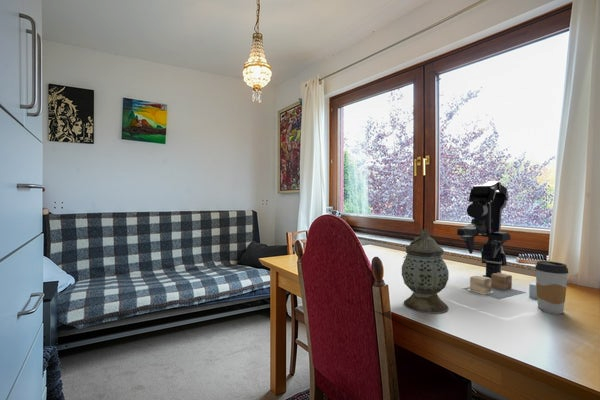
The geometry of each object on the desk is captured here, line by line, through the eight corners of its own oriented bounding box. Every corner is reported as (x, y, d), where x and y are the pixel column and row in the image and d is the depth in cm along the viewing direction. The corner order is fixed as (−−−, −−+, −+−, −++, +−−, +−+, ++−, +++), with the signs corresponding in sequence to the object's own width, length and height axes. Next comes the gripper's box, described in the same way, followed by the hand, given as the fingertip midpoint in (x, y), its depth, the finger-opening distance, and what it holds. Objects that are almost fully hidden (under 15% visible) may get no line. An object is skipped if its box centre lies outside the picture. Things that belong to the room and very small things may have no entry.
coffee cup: (560, 307, 101) (561, 261, 101) (573, 317, 93) (574, 267, 93) (530, 304, 104) (530, 259, 104) (540, 313, 96) (541, 264, 96)
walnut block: (498, 284, 126) (498, 272, 126) (511, 288, 121) (511, 275, 121) (491, 286, 123) (491, 274, 123) (504, 289, 119) (504, 276, 119)
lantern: (427, 317, 92) (428, 232, 92) (392, 302, 105) (393, 228, 104) (458, 309, 98) (459, 231, 98) (421, 296, 111) (422, 226, 111)
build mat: (488, 283, 129) (488, 282, 129) (526, 293, 116) (526, 292, 116) (461, 289, 120) (461, 288, 120) (498, 300, 108) (499, 299, 108)
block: (532, 295, 114) (532, 281, 114) (549, 298, 111) (549, 284, 111) (529, 298, 111) (529, 284, 111) (546, 301, 107) (547, 287, 107)
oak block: (477, 288, 121) (478, 275, 121) (491, 291, 117) (491, 278, 116) (470, 289, 119) (470, 276, 119) (483, 293, 114) (483, 279, 114)
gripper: (447, 215, 128) (447, 253, 128) (493, 219, 111) (492, 262, 112) (465, 214, 133) (465, 251, 133) (511, 218, 116) (511, 259, 117)
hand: (481, 255), depth 124 cm, fingers open, 9 cm apart
